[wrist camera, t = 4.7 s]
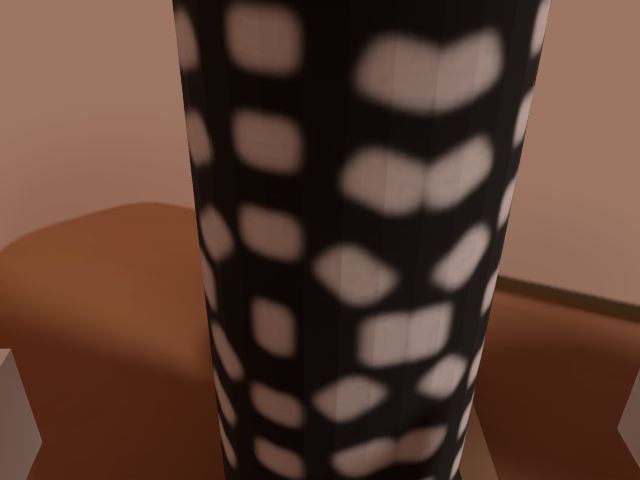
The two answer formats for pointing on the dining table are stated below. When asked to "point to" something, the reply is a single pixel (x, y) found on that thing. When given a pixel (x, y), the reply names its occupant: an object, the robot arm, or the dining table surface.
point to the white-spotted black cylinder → (352, 220)
